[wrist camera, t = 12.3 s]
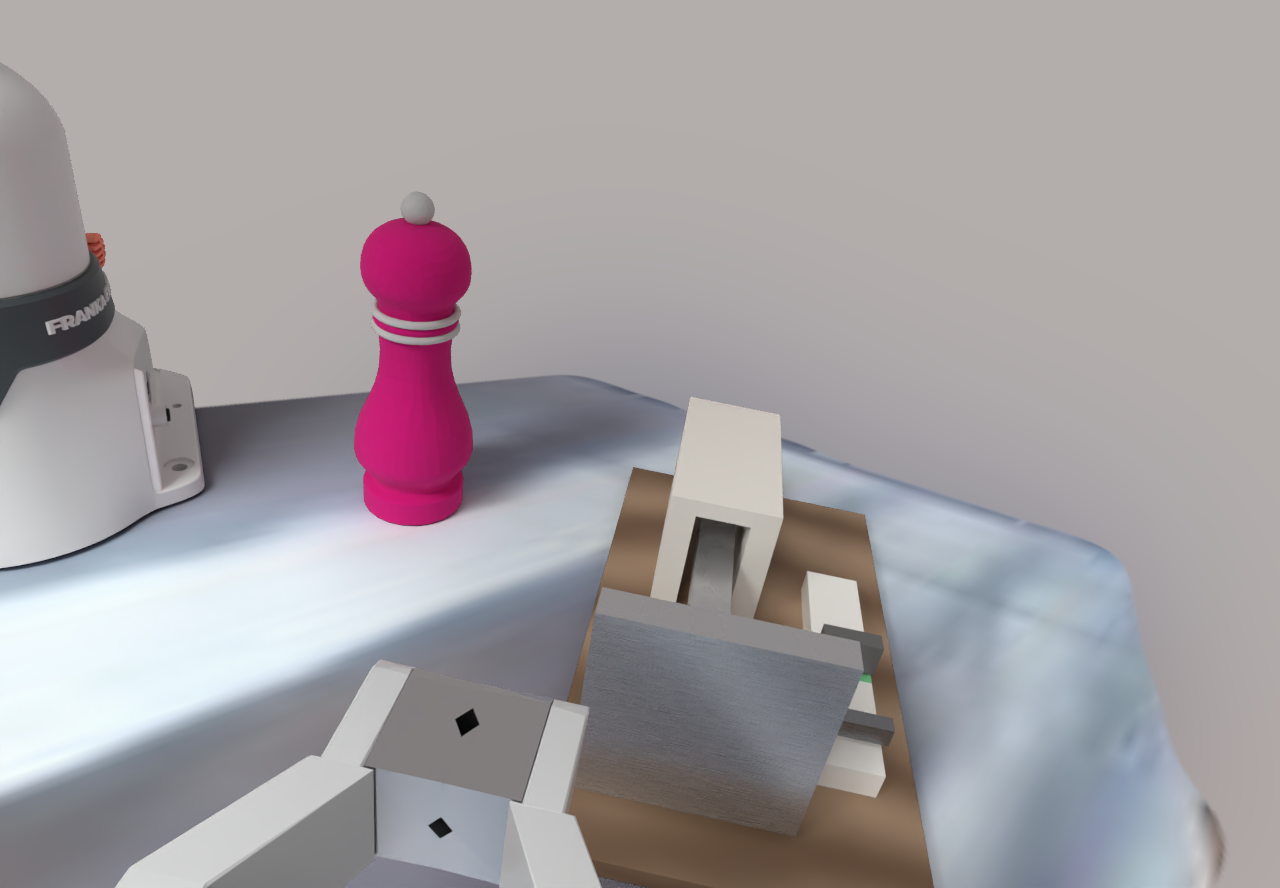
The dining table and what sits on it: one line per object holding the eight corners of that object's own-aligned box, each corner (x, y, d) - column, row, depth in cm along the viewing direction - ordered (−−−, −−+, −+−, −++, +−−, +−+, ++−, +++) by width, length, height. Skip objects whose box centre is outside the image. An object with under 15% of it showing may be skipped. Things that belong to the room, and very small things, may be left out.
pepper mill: (436, 544, 49) (446, 222, 39) (332, 511, 51) (316, 190, 40) (488, 486, 55) (508, 194, 45) (393, 457, 57) (393, 167, 47)
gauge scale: (875, 797, 37) (886, 776, 36) (811, 783, 37) (820, 762, 36) (849, 599, 49) (856, 580, 48) (801, 589, 49) (807, 570, 49)
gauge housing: (751, 623, 46) (783, 518, 42) (649, 601, 46) (671, 495, 42) (754, 507, 56) (780, 414, 53) (670, 490, 57) (690, 396, 53)
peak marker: (873, 675, 41) (884, 649, 40) (815, 662, 41) (825, 636, 40) (871, 660, 42) (881, 635, 41) (814, 648, 42) (824, 623, 41)
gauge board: (934, 953, 32) (943, 939, 32) (524, 859, 33) (526, 844, 33) (860, 526, 58) (864, 514, 58) (631, 478, 59) (633, 467, 58)
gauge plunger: (888, 857, 34) (973, 694, 29) (566, 785, 35) (594, 612, 30) (848, 568, 51) (897, 434, 46) (632, 523, 52) (658, 385, 47)
